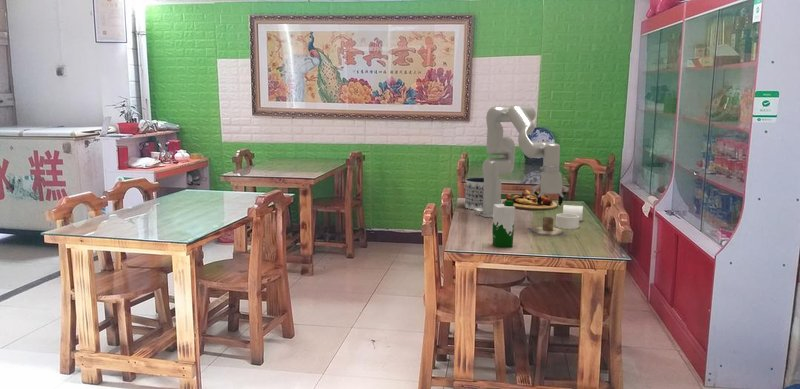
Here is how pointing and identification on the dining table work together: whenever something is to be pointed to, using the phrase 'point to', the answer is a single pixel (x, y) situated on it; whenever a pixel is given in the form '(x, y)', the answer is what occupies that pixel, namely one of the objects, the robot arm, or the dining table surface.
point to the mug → (573, 210)
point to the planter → (474, 193)
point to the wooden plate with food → (531, 201)
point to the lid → (547, 228)
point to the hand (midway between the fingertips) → (549, 205)
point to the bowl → (567, 221)
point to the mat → (545, 235)
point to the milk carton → (503, 224)
